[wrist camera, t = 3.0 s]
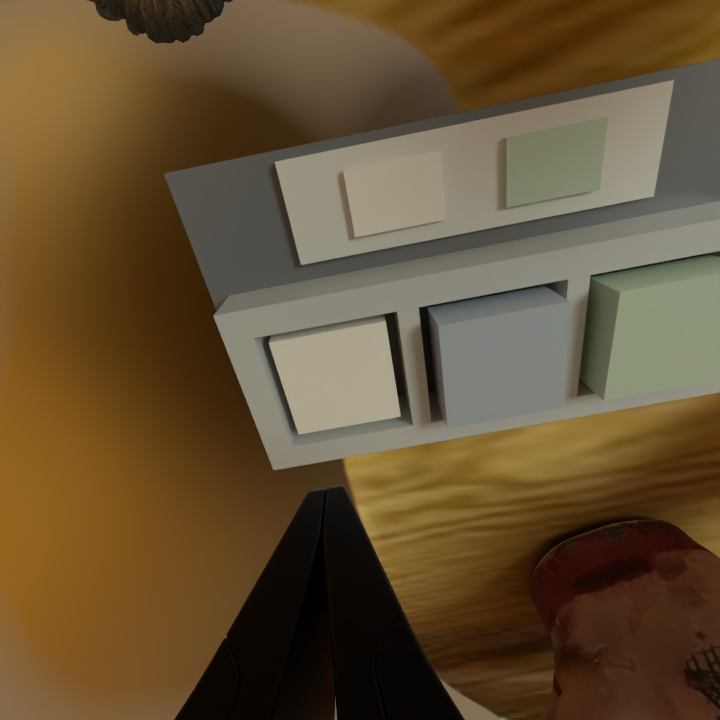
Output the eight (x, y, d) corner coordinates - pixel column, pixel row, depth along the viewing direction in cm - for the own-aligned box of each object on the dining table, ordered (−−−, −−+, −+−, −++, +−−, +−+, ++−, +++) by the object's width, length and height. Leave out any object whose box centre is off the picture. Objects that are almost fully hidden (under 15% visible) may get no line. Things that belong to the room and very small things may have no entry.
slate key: (544, 285, 13) (569, 301, 11) (539, 384, 15) (560, 408, 13) (427, 307, 13) (438, 325, 12) (436, 402, 15) (447, 428, 14)
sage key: (710, 254, 13) (756, 266, 11) (683, 358, 15) (720, 380, 13) (589, 277, 13) (620, 292, 11) (578, 377, 15) (603, 400, 13)
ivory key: (381, 304, 14) (385, 321, 13) (395, 393, 16) (400, 416, 15) (275, 324, 14) (268, 343, 13) (301, 410, 16) (298, 434, 15)
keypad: (756, 52, 12) (874, 23, 9) (680, 355, 17) (742, 391, 15) (175, 172, 13) (133, 176, 10) (270, 428, 18) (258, 475, 15)
